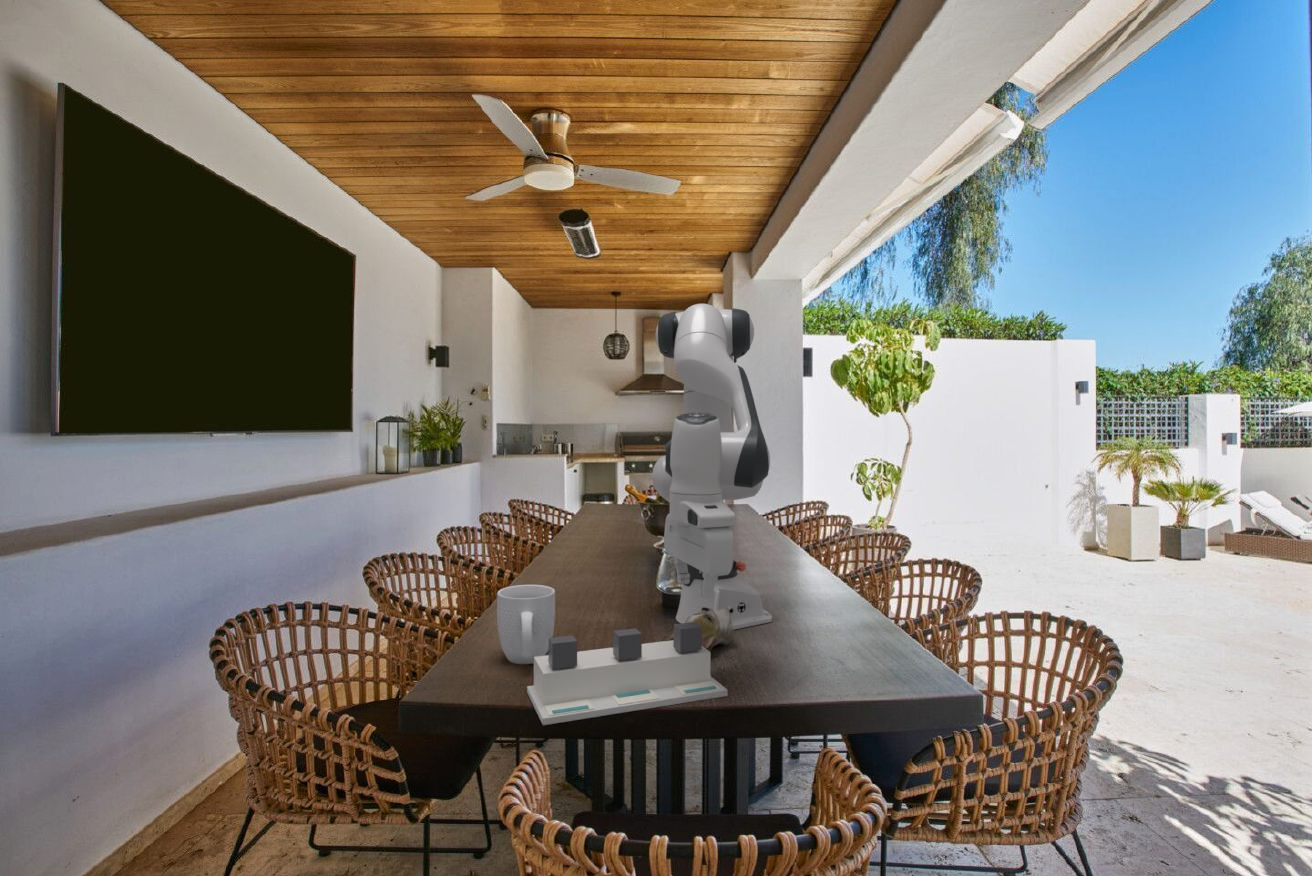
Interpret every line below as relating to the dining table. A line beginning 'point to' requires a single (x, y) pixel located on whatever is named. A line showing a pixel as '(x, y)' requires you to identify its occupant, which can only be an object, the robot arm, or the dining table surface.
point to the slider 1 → (562, 652)
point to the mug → (525, 621)
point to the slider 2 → (687, 637)
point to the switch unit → (621, 682)
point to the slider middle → (627, 644)
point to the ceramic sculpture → (712, 627)
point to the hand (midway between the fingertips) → (694, 590)
